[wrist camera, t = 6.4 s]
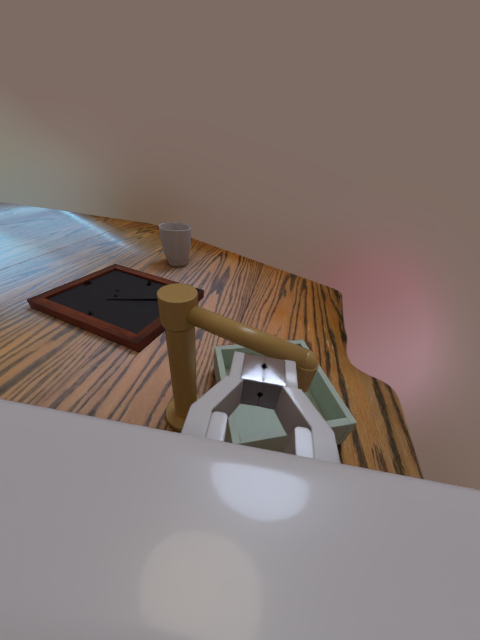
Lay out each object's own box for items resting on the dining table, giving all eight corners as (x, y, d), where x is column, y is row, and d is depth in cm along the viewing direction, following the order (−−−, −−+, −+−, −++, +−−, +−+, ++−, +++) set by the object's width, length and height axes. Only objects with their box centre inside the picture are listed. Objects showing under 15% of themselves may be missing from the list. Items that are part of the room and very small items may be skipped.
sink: (295, 360, 38) (303, 339, 35) (342, 444, 27) (357, 422, 24) (213, 368, 34) (214, 346, 32) (229, 466, 24) (232, 445, 21)
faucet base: (213, 411, 29) (218, 322, 21) (184, 440, 26) (175, 349, 17) (188, 390, 31) (182, 302, 23) (158, 414, 28) (139, 322, 20)
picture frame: (203, 296, 51) (116, 270, 58) (203, 289, 50) (115, 262, 56) (139, 352, 36) (30, 307, 42) (137, 342, 35) (26, 298, 41)
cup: (195, 260, 68) (195, 224, 62) (186, 270, 61) (185, 232, 56) (169, 256, 68) (166, 220, 63) (157, 266, 62) (153, 227, 56)
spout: (154, 333, 20) (147, 294, 18) (178, 316, 22) (175, 279, 20) (303, 405, 16) (321, 364, 13) (313, 374, 18) (330, 335, 16)
